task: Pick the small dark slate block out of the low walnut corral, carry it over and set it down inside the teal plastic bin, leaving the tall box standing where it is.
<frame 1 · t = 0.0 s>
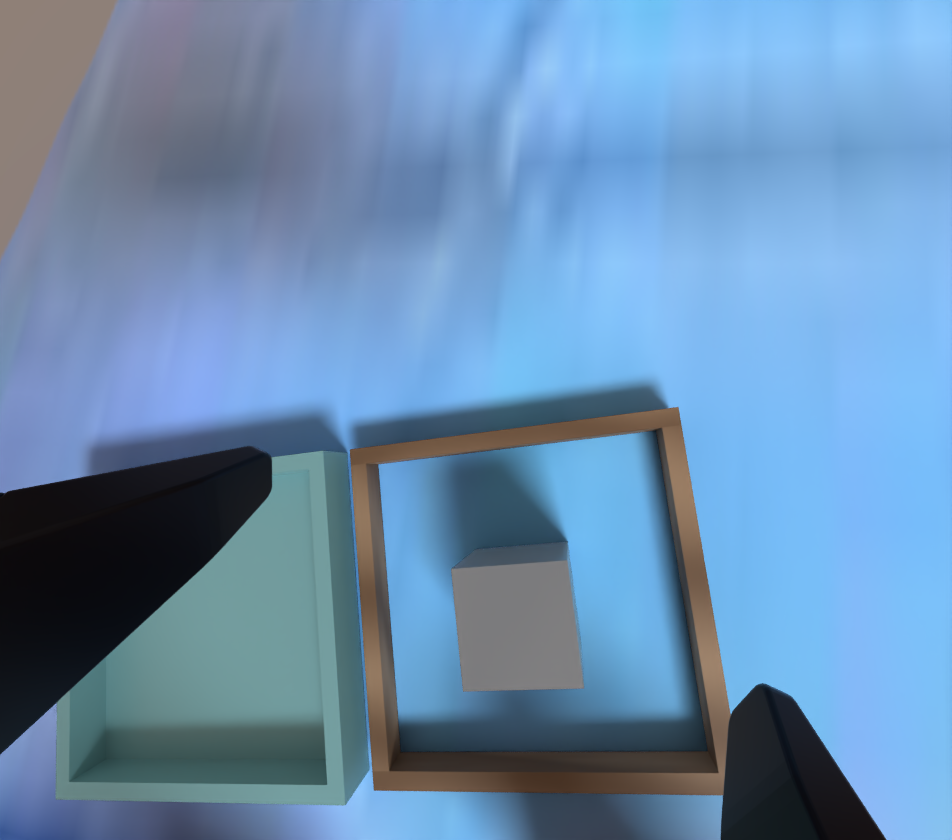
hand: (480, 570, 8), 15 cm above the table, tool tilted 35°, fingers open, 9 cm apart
bin: (224, 612, 25), on the table
slate block: (521, 607, 20), in the corral
corral: (526, 593, 22), on the table
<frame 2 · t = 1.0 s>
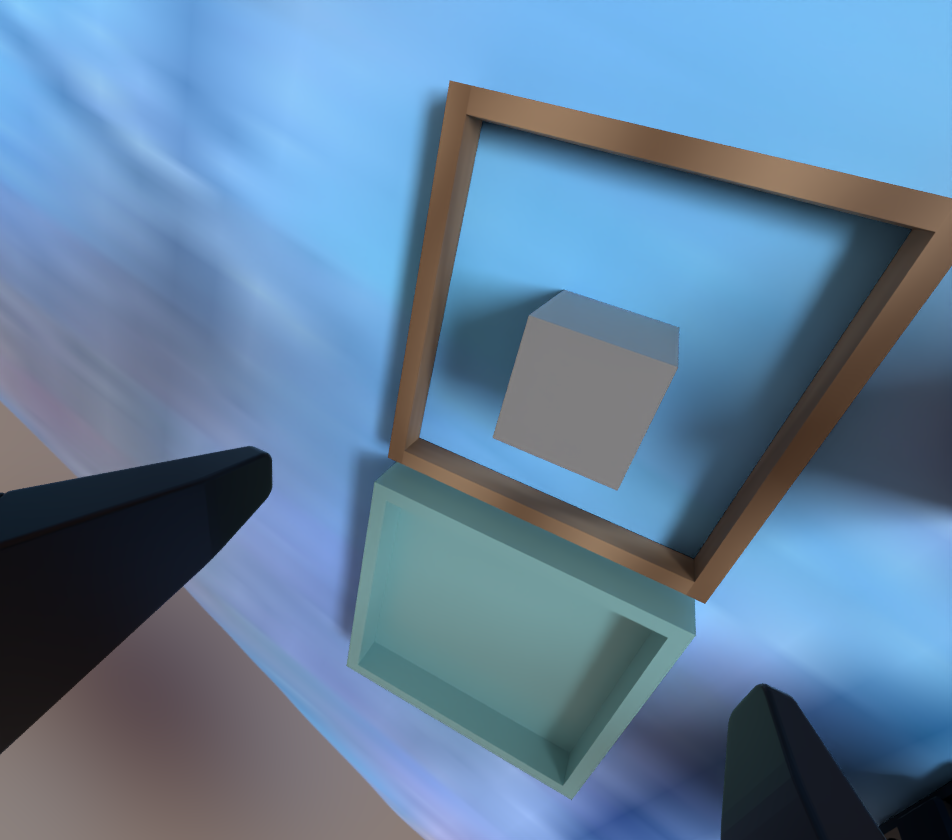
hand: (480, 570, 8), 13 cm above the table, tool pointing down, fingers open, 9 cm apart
bin: (497, 618, 27), on the table
slate block: (588, 380, 17), in the corral
corral: (598, 361, 19), on the table
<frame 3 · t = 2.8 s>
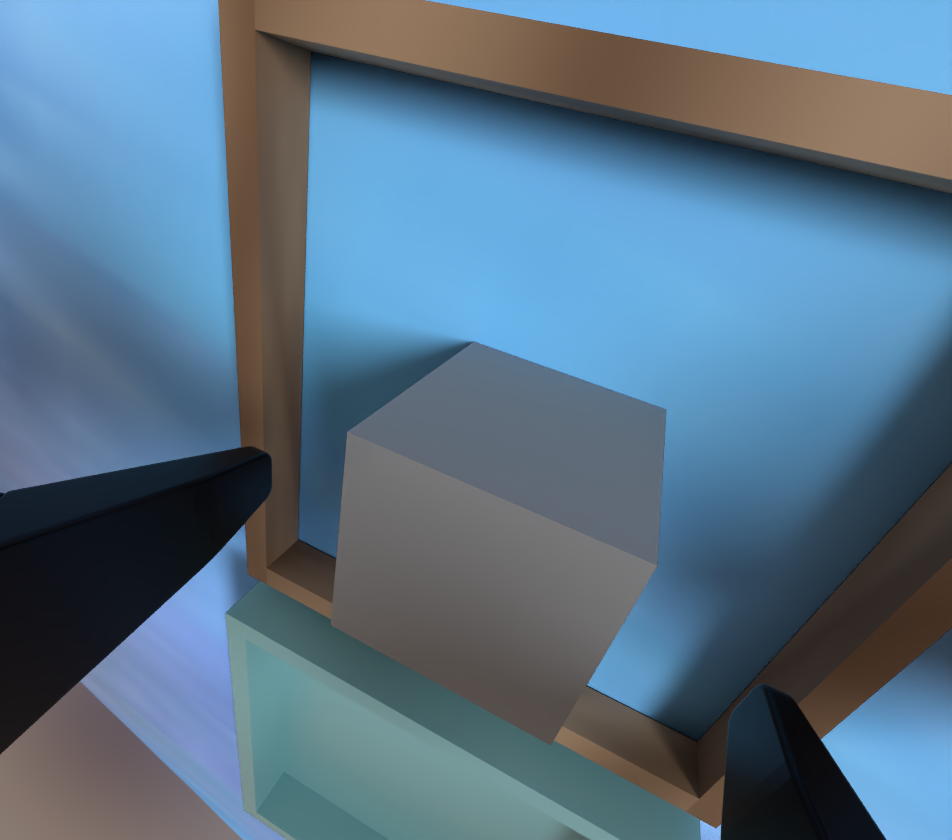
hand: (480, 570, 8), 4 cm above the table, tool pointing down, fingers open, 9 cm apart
bin: (429, 767, 20), on the table
slate block: (506, 511, 9), in the corral
corral: (537, 455, 11), on the table
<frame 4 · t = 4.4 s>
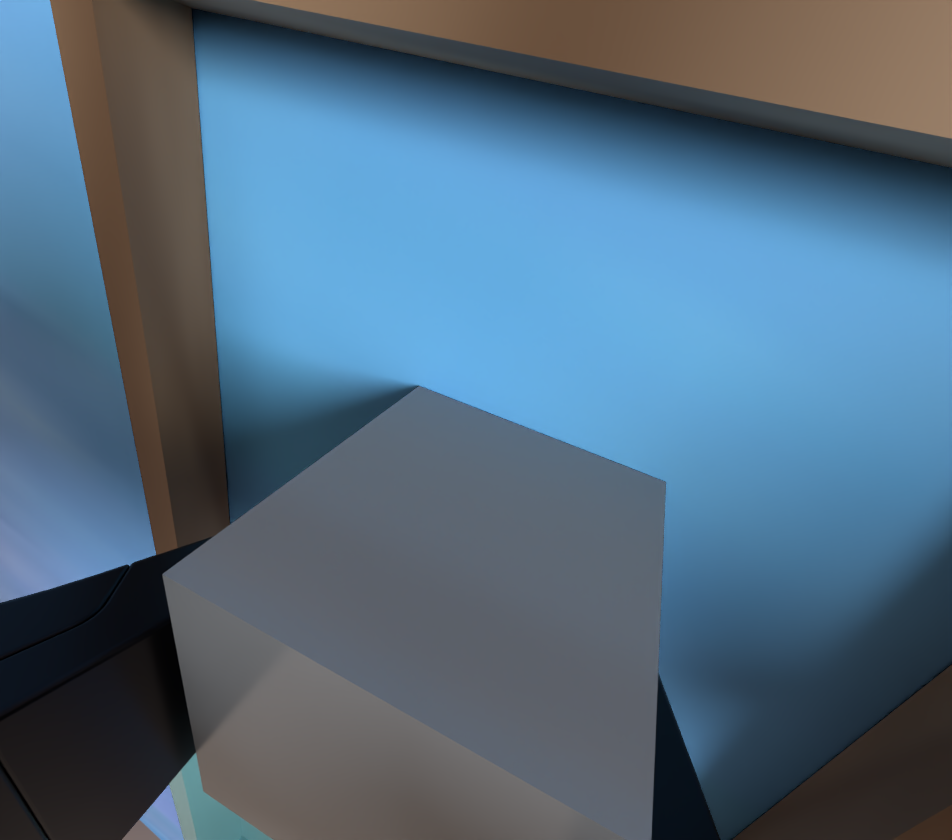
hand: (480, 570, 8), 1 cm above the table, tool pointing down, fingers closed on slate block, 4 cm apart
slate block: (450, 626, 7), in the corral, touching gripper
corral: (502, 527, 9), on the table
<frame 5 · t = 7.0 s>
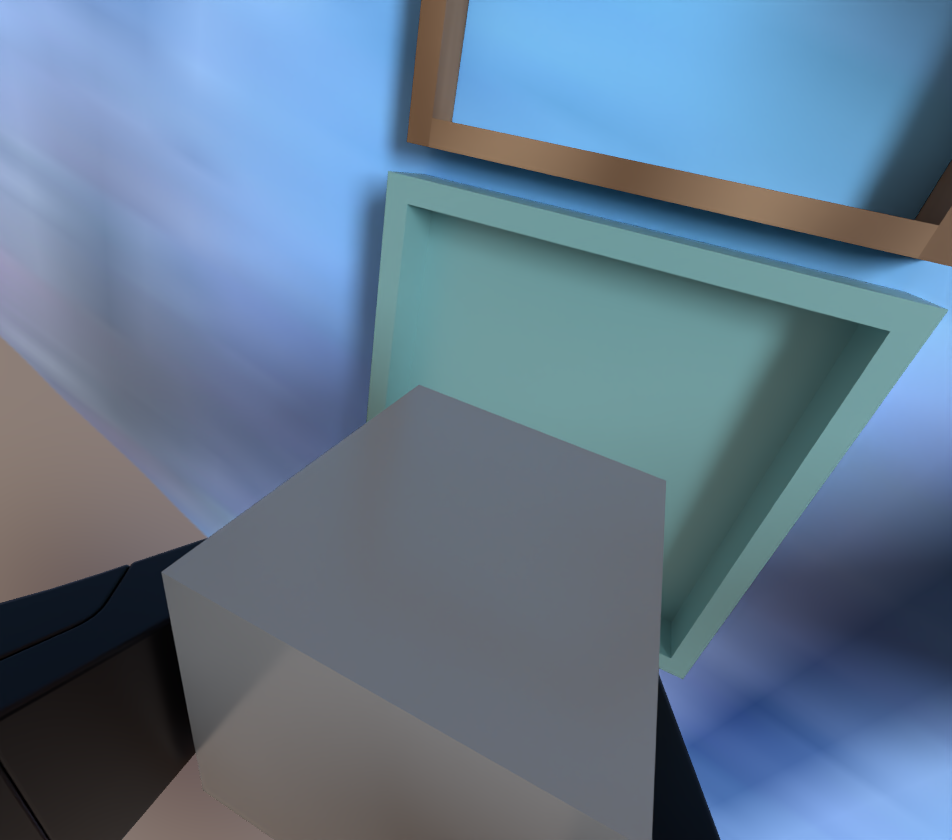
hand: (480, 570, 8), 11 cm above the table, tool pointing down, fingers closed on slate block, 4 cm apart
bin: (567, 427, 19), on the table
slate block: (450, 624, 7), point 13 cm above the table, touching gripper
when the fingers open (3 cm above the table, at t = 9.6 s): slate block drops 2 cm, resting on bin.
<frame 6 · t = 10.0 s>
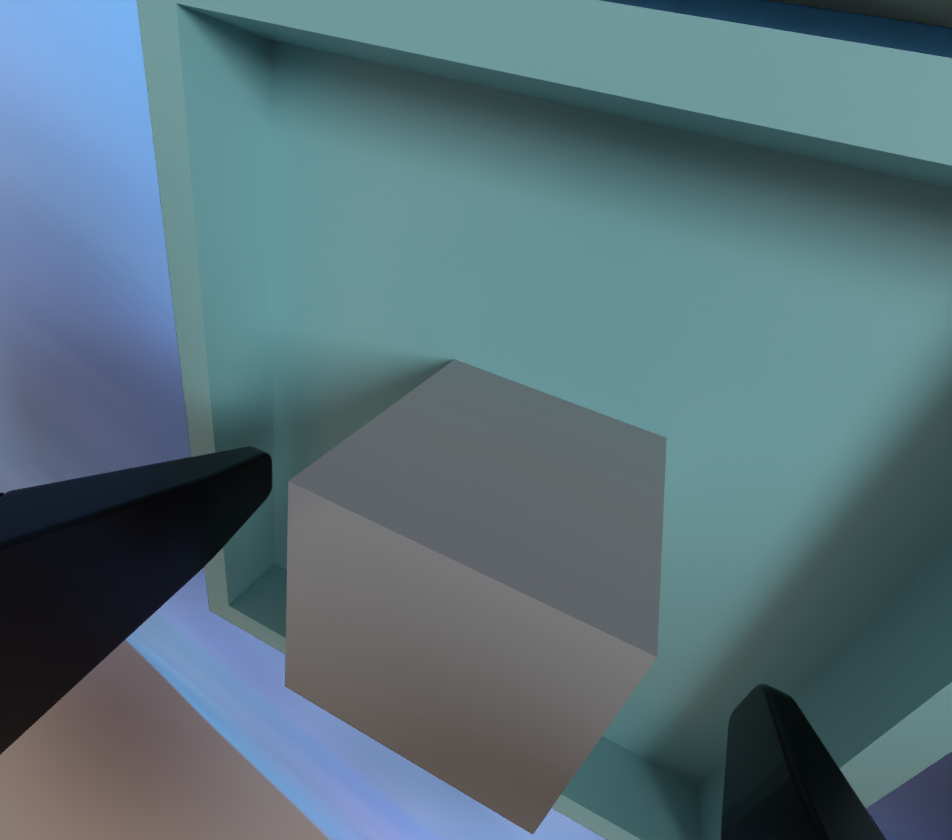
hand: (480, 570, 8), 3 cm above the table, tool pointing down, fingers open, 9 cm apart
bin: (531, 469, 11), on the table
slate block: (486, 554, 8), in the bin, point 3 cm above the table
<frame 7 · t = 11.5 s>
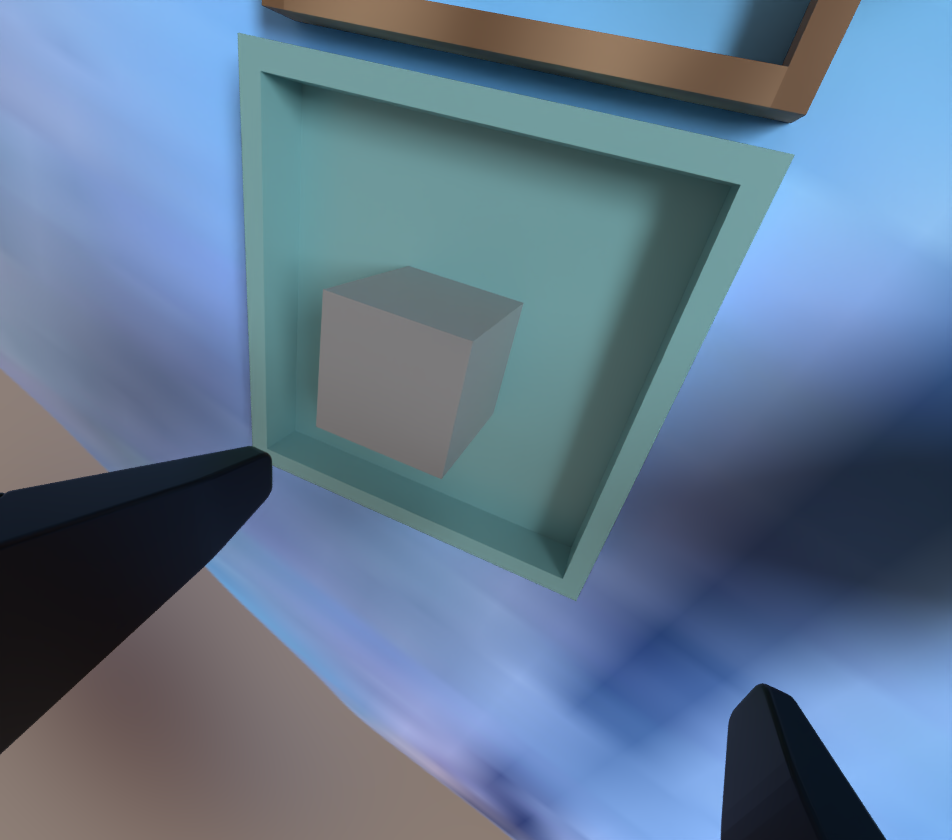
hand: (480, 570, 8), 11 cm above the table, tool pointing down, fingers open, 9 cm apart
bin: (458, 338, 18), on the table
slate block: (423, 362, 15), in the bin, point 3 cm above the table
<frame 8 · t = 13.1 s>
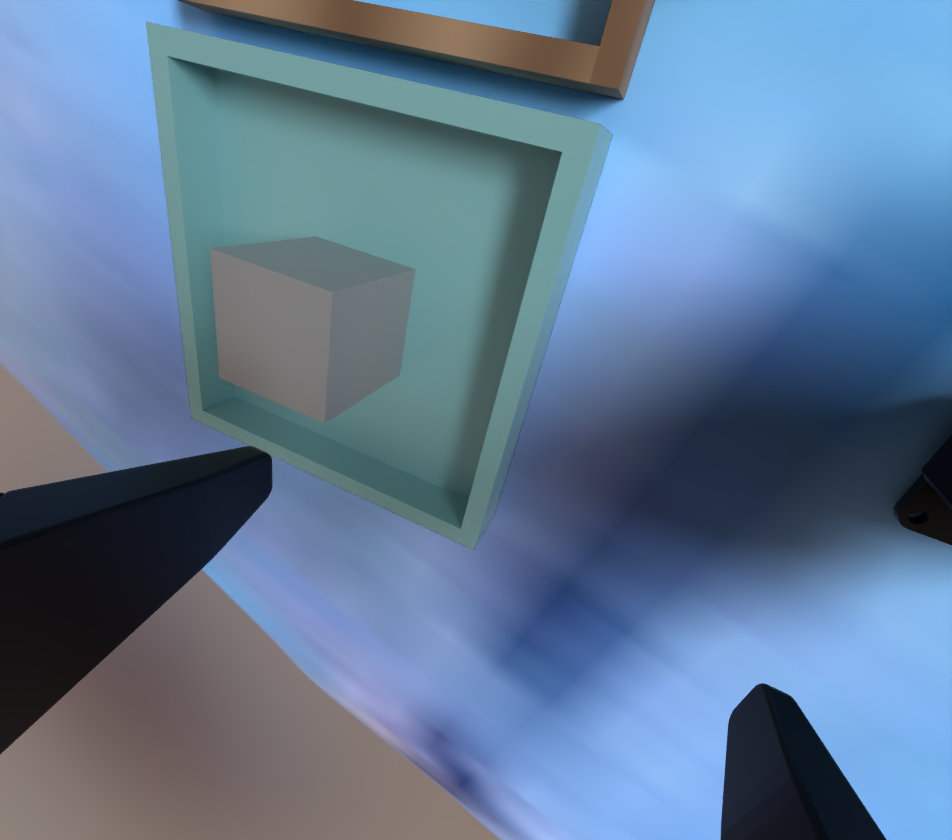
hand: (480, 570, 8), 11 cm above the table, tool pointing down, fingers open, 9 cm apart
bin: (367, 305, 20), on the table
slate block: (320, 322, 17), in the bin, point 3 cm above the table
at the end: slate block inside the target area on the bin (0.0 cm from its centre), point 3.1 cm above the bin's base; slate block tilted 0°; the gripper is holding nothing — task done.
